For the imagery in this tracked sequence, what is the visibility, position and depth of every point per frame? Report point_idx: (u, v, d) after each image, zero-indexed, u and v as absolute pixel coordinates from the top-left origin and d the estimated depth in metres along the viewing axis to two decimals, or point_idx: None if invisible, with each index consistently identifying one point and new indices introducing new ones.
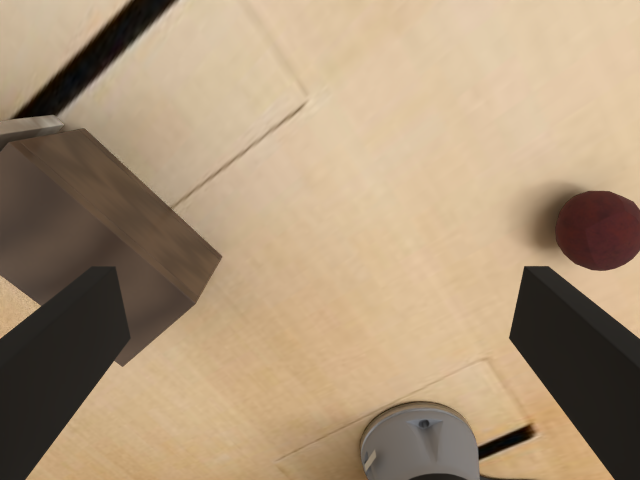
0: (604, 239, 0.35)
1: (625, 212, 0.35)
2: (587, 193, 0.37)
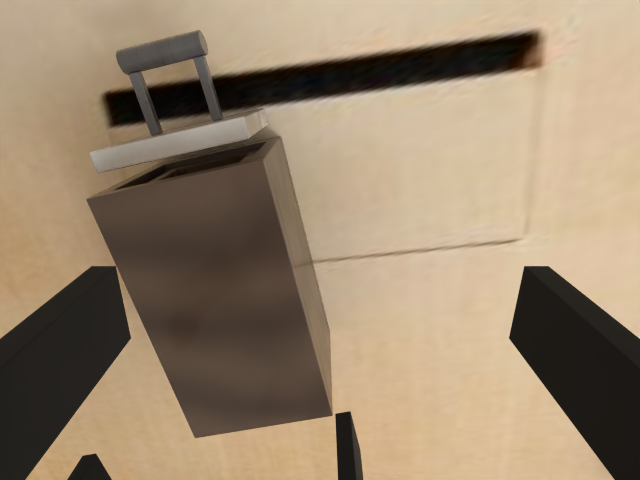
0: None
1: None
2: None
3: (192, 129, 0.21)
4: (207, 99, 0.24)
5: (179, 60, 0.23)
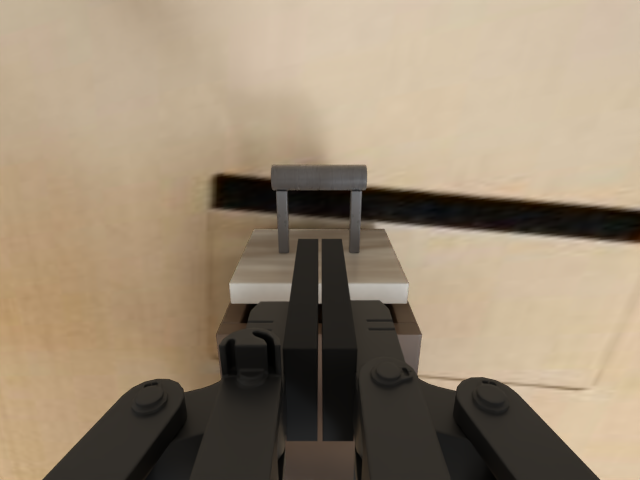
0: None
1: None
2: None
3: (351, 284, 0.19)
4: (351, 232, 0.22)
5: (335, 189, 0.21)
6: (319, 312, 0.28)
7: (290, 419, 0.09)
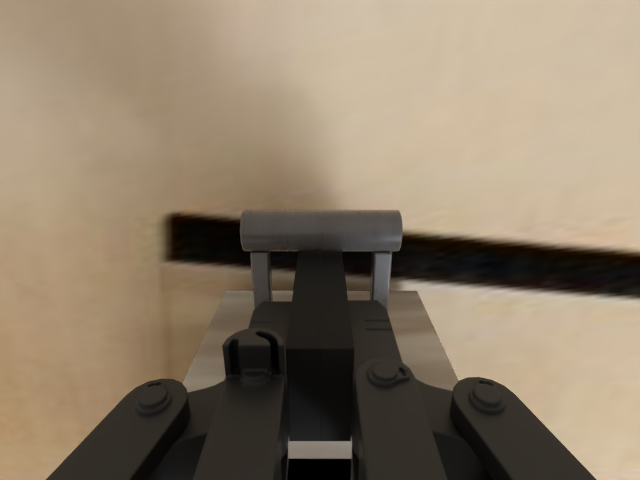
0: None
1: None
2: None
3: None
4: None
5: (348, 250, 0.13)
6: None
7: (293, 419, 0.09)
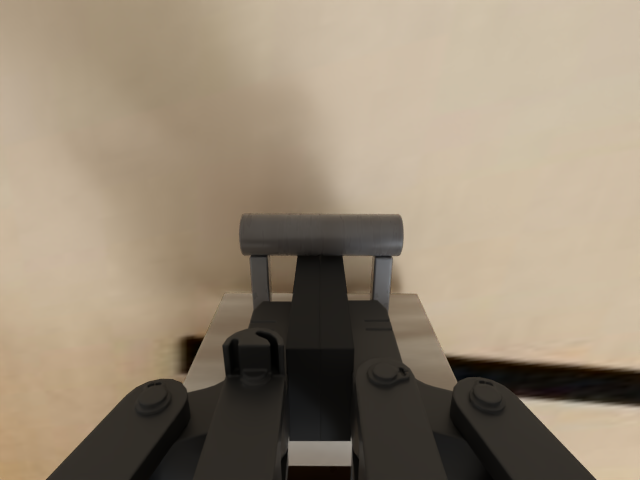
0: None
1: None
2: None
3: None
4: None
5: None
6: None
7: (293, 419, 0.09)
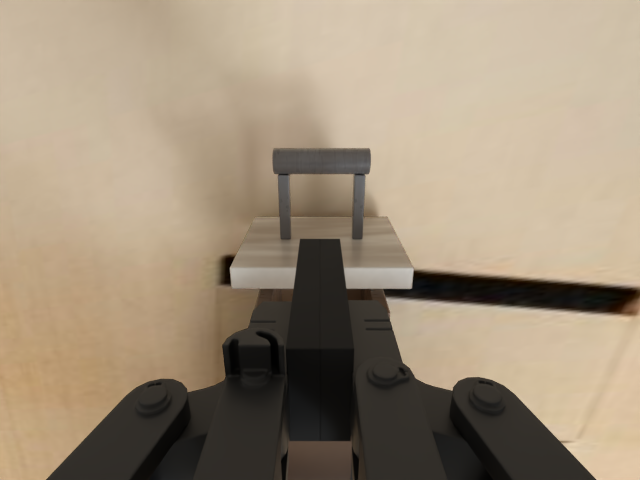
0: None
1: None
2: None
3: (354, 268, 0.19)
4: (354, 217, 0.22)
5: (338, 173, 0.21)
6: None
7: (293, 419, 0.09)
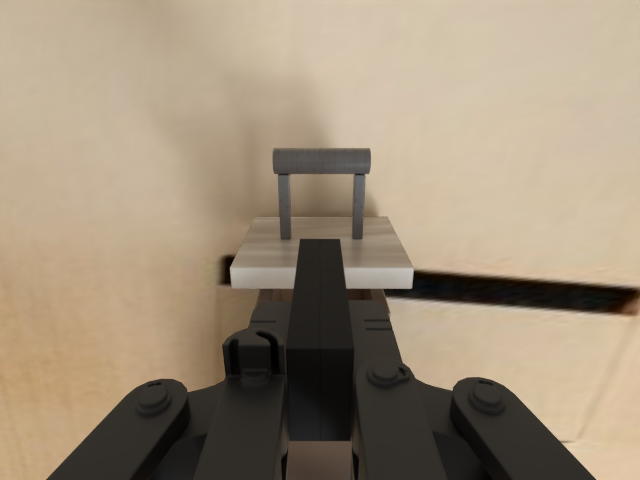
0: None
1: None
2: None
3: (354, 268, 0.19)
4: (354, 217, 0.22)
5: (338, 173, 0.21)
6: None
7: (293, 419, 0.09)
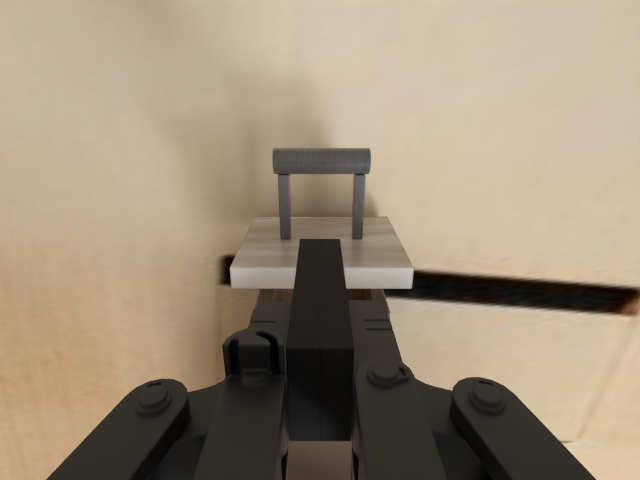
0: None
1: None
2: None
3: (354, 268, 0.19)
4: (354, 217, 0.22)
5: (338, 173, 0.21)
6: None
7: (293, 419, 0.09)
